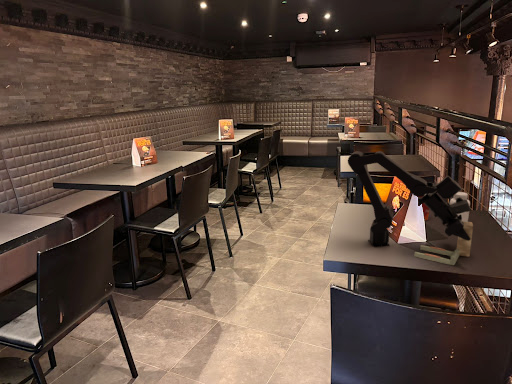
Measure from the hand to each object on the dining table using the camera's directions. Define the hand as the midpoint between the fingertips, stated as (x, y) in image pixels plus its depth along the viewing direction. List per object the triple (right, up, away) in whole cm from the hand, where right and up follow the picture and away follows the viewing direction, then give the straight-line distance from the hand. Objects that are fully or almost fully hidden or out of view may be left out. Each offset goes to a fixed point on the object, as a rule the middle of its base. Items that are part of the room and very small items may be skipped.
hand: (468, 237), depth 135 cm
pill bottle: (+12, +2, +30) cm, 32 cm away
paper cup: (+1, +4, +40) cm, 41 cm away
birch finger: (-1, -6, +2) cm, 7 cm away
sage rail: (-12, -7, +1) cm, 14 cm away
